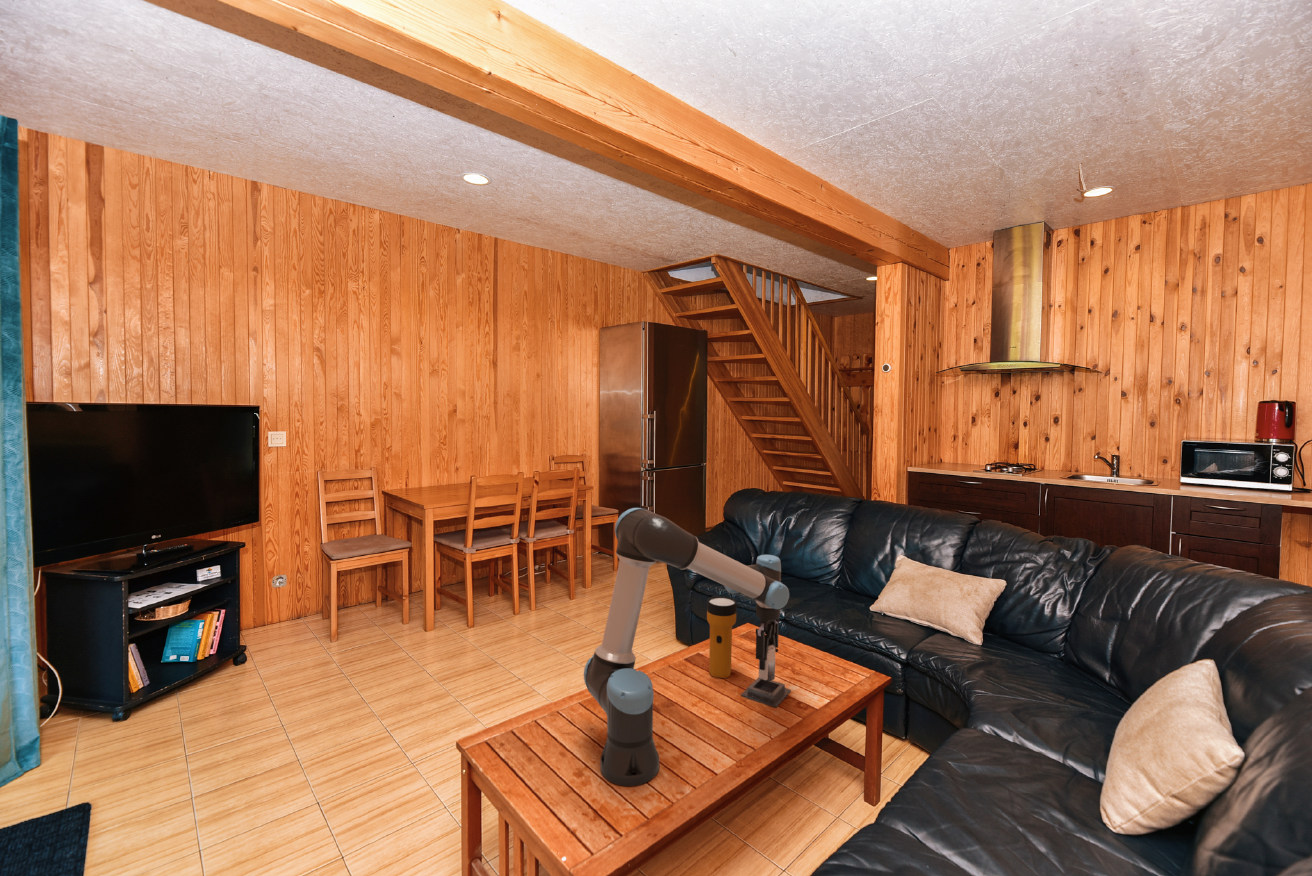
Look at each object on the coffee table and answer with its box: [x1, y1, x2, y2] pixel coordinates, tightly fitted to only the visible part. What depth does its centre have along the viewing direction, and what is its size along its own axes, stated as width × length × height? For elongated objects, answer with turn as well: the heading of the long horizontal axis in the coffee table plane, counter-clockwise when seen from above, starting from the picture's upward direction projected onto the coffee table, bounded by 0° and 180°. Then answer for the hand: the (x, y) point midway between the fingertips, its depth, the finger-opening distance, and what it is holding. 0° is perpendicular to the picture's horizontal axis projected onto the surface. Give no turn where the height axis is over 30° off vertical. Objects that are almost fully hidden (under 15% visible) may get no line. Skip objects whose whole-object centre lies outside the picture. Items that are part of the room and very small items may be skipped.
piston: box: [760, 643, 776, 681], centre depth 180 cm, size 5×5×11 cm
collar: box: [740, 676, 792, 709], centre depth 181 cm, size 12×12×3 cm
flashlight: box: [706, 595, 737, 679], centre depth 194 cm, size 10×26×10 cm
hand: (766, 674), depth 181 cm, fingers closed on piston, 5 cm apart
